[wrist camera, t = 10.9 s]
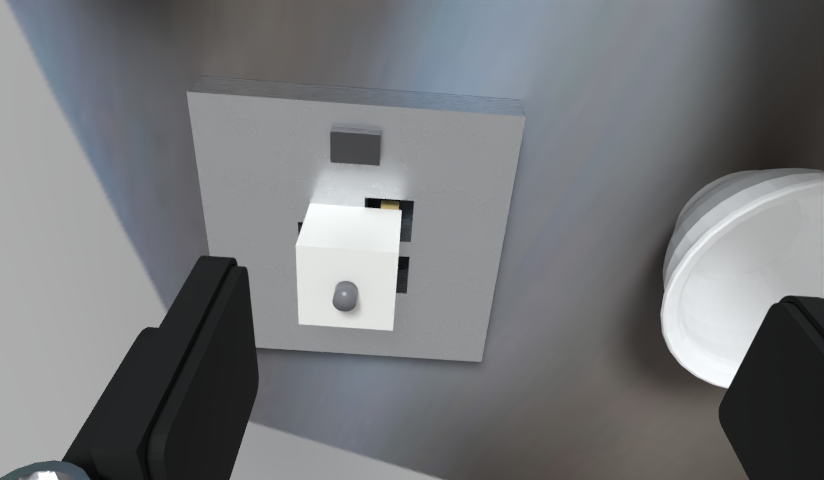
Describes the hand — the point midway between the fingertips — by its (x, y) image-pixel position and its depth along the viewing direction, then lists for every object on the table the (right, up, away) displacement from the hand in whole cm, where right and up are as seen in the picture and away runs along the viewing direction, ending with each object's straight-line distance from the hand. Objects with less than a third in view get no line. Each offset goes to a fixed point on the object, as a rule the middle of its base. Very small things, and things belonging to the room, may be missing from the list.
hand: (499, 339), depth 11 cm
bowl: (+22, +3, +31) cm, 38 cm away
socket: (-5, +3, +32) cm, 32 cm away
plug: (-5, +2, +30) cm, 31 cm away
